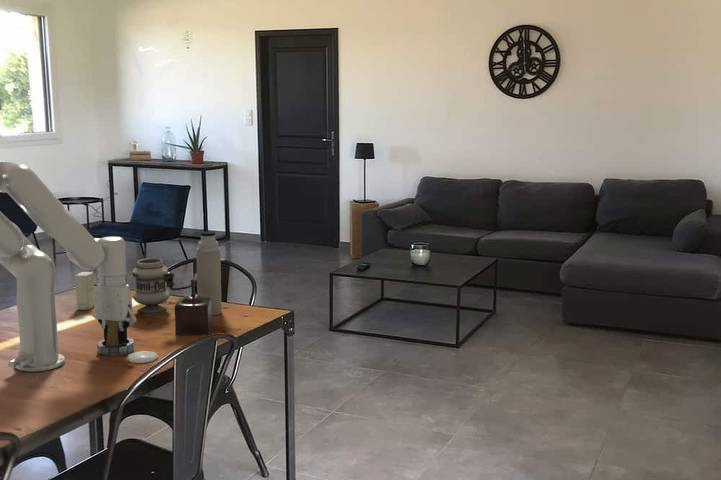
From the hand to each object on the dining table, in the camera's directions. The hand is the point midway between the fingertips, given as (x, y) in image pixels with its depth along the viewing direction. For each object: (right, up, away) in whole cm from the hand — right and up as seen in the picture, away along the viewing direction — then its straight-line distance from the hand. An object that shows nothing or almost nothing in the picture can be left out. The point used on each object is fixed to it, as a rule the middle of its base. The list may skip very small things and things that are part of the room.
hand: (115, 341), depth 218 cm
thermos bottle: (+19, +4, +41) cm, 45 cm away
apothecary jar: (-1, +5, +41) cm, 42 cm away
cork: (0, -3, +1) cm, 3 cm away
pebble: (+9, -4, -6) cm, 12 cm away
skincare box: (-25, +6, +45) cm, 52 cm away
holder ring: (0, -3, +1) cm, 3 cm away
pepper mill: (+15, +1, +21) cm, 26 cm away
